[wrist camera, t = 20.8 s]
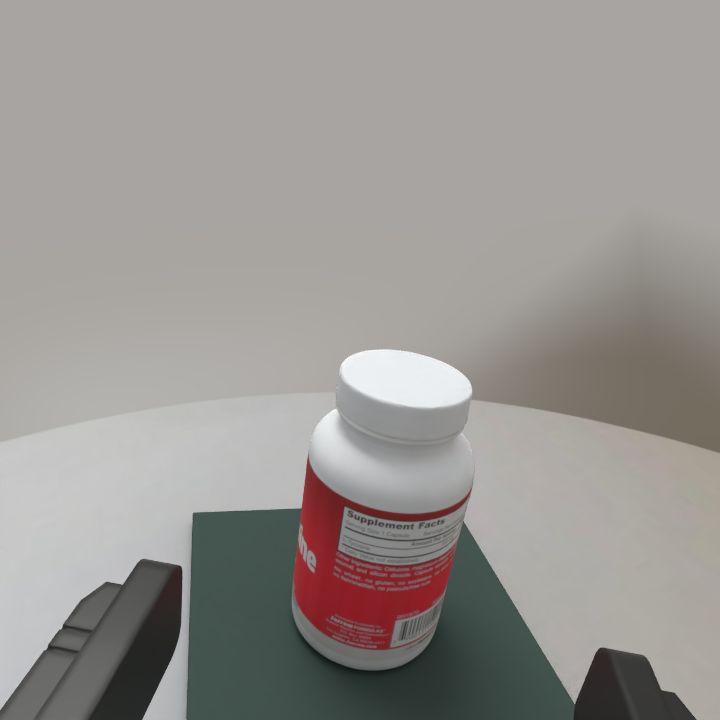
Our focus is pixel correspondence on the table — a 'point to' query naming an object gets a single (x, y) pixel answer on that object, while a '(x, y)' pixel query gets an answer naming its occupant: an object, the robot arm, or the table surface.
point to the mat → (332, 680)
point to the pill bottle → (382, 509)
